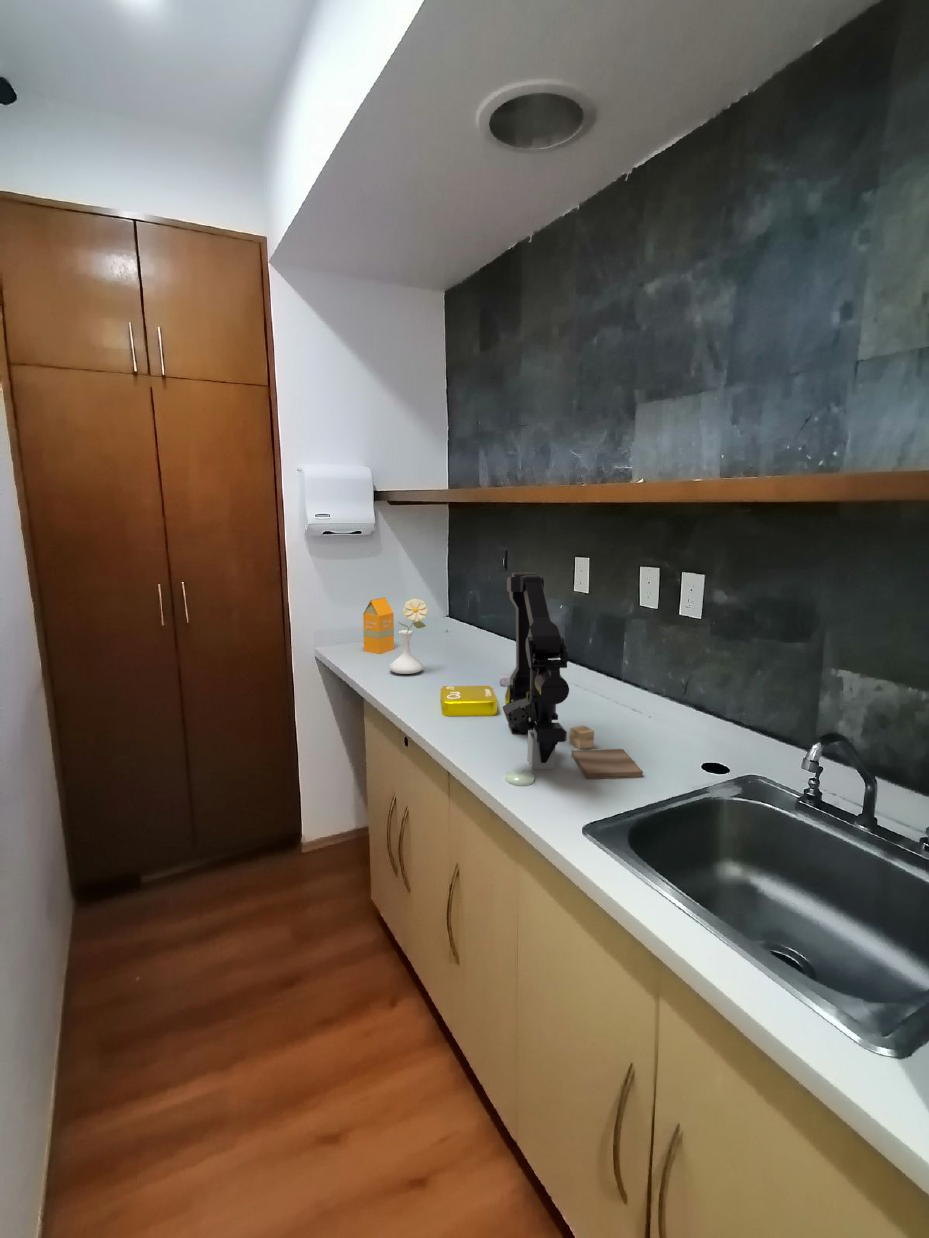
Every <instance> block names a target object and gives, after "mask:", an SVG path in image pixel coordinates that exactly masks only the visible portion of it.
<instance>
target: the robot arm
mask: <svg viewBox="0 0 929 1238" xmlns="http://www.w3.org/2000/svg"><path fill="white" fill-rule="evenodd" d="M506 579H507V580H506V590H507V592H508V594H509V600H510V602H511V603H512V604H513V606H514V608H515V651H516V652H515V653H516V654H515V659H516V660H515V661H516V662H515V663H516V664H515V665H516V666H515V668H514V669H515V670H514V669H513V670H514V672H513V673H512V675H511V677H510V685H508V687H506V691H505V694H504V695H505V697H504V699H505V705H503V706H502V711H503V713H504V716H505V719H506V721H507V726H508V728H509V729H510V732H511V734H513V735H517V734H522V735H524V734H528V730H533V733H532V736H533V738H534V739H535V740H536V741H537V742H538V745H539V752H540V759H541V763H546V762H547V761H548V759H549V757H550V755H551V753H552V751H553V750H554V748H555V749H556V746H557V744H558V743H565V742H566V741H567V737H568V736H567V735H568V732H567V731H566V729H565V728H564V726H563V725H562V724H561V723H560V722H557V721H558V720H559V715H558V713H557V705H558V704H562V703H564V701H565V700H566V699H567V698H568V696H569V695H570V687H569V684H568V682H567V681H566V680H565V679H564V677H563V676H562V675H561V669H568V663H569V661H570V659H569V655H568V653H569V652H568V648H567V644H566V642H565V641H564V640H565V639H564V637H563V636H561V632H560V628H559V626H558V625H556V624H555V623H554V622H552V621H551V617H550V612H549V607H548V603H547V600H546V599H547V598H546V594H545V591H546V590H545V589H546V586H545V583H546V581H545V580H546V579H545V576H541V575H539V574H538V572H512V573H511V576H508V577H507V578H506ZM558 658H560V659H558ZM553 721H556V722H553Z"/></svg>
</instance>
